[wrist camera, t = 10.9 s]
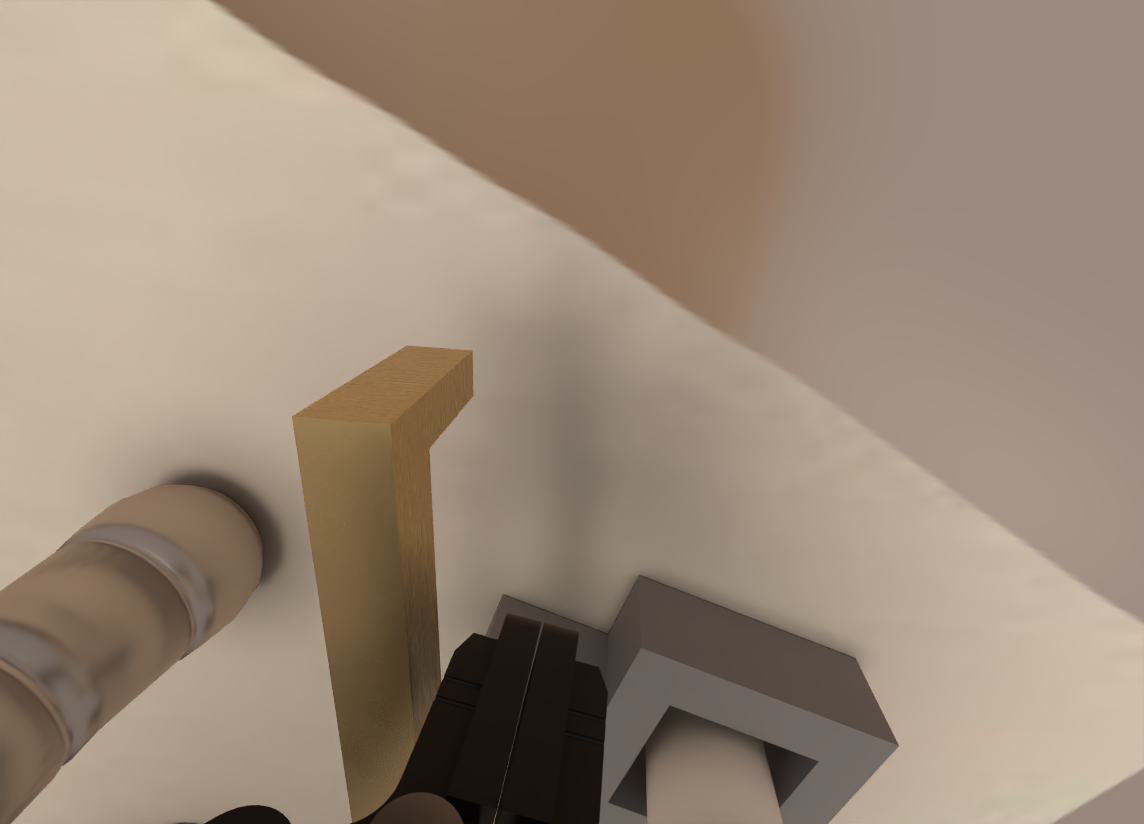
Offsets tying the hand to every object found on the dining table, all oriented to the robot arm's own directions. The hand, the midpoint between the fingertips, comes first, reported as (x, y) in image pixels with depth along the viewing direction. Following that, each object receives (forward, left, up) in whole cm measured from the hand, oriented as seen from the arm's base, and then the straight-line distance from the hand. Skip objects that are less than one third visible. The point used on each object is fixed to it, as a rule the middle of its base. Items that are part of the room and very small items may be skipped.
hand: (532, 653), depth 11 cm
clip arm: (-3, +2, -2) cm, 4 cm away
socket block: (-10, -7, -11) cm, 16 cm away
